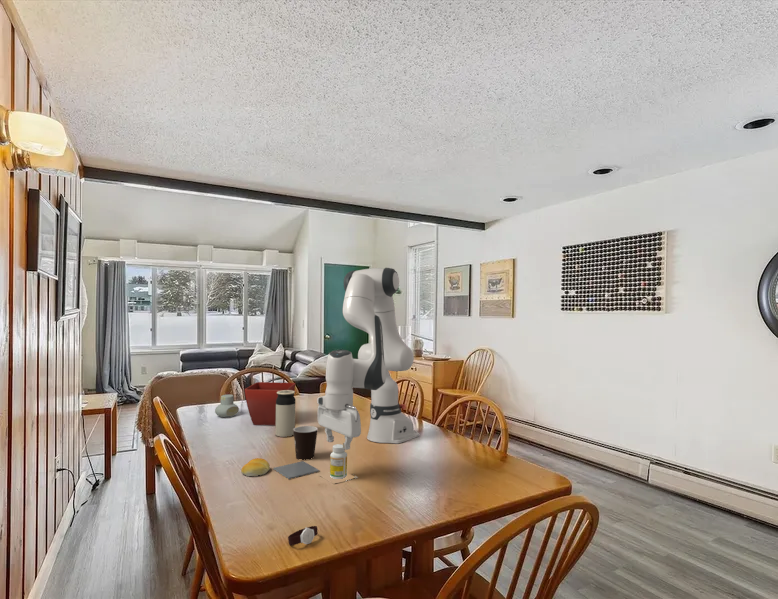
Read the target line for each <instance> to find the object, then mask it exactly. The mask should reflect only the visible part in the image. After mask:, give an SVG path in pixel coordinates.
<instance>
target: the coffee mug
mask: <svg viewBox="0 0 778 599" xmlns="http://www.w3.org/2000/svg"><path fill="white" fill-rule="evenodd" d="M293 432H294V435H293V441H294V450H295V458H296V460H299V459H302V460H301V461H307V460H306V459H309V460H312V459H314V458H315V454H316V445H317V438H318V437H317V436H318V427H316V426H313V425H311V426H310V425H302V426H295V428H294V429H293ZM313 457H314V458H313ZM311 458H312V459H311ZM304 459H305V460H304Z"/></svg>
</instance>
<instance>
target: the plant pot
mask: <svg viewBox="0 0 778 599" xmlns="http://www.w3.org/2000/svg"><path fill="white" fill-rule="evenodd" d="M282 390H292V391H295V390H296V382H274V381H272V382H270V381H269V382H268V381H257V382H255V383H253V384H251V385H250V386H248V387H246V388H244V395H245V401H246V406H247V410H248V414H249V416H250V420H251V423H252V425H253V426H276V399H277V397H278V394H277V392H278V391H282Z"/></svg>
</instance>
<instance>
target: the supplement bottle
mask: <svg viewBox="0 0 778 599" xmlns="http://www.w3.org/2000/svg"><path fill="white" fill-rule="evenodd" d="M329 456H330V457H329V459H330V460H329V473H330V477H331V478H333V479H343V478H345V477H346V476H347V472H348V453H347V452H346V449H343V443H342V444H341V443H340V444H339V443H337V444H333V445H332V452H331V453H330V455H329Z"/></svg>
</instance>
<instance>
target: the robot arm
mask: <svg viewBox="0 0 778 599" xmlns="http://www.w3.org/2000/svg"><path fill="white" fill-rule="evenodd" d="M399 286H400V277H399V274H398V272H397V271H396V270H395V268H392V267H391V268H390V267H385V268H383V267H372V268H371V267H370V268H365V269H364V268H363V269H359V270H357V269H355V270H354V269H353V270H351V271H349V272H347V273H346V274H345V276H344V278H343V289H344V291H345V293H344V298H343V303H342V316H343V318H344V320H345V321H346V322H347V323H348V324H349V325H351V327H354V328H356V329H359V330H361V331H363V332H365V333H367V334H368V336H369V338H370V342H368V343H364V344H362V345H361V346H360V348H359V350H358V353H357V358H354V357H353V354H352V352H351V351H349V350H347V349H337V350H336V349H335V350H332V351H331V352H329V353H328V354H327V355H328V356H327V360H326V365H325V381H326V389H325V393H324V394H325V395H322V396H318V397H317V398H316V402H317V405H318V406H317V423H318V425H319V426H321V427H323V428H324V432H325V435H326V442H328V443H333V442H334V441H335V437H334V436H333V431H334V432H335V433H338V434H341V435H343V436H344V439H345V440H344V442H343V443H342V445H343V449H345V451H347V450H350V449H351V443H352V441H353V439H354V438H358V437H360V436H361V434H362V425H361V416H360V413H359V410H358V409H357V407H356V406H355V405H354V390H353V389H354V388H355V389H366V390H370V392H371V393H370V397H371V403H370V405H369V406H370V407H369V414H370V421H369V426H368V433H367V436H366V438H367V440H368V441H369V442H370V441H371V442H374V443H380V444H401V443H404V442H407V441H410V440H412V439H415V438H418V437H420V433H419V432H418V431H417V430H414V422H413V421H412V419H411V418H409V417H408V416H407V415H406V414H404V413H403V412H402V410H405V409H406V408H407V406H406V404H405V403H404V404H403V403H399V386H398V383H397V382H396V381H395V380H394V379H393V378H392V376H391V375H390V373H389V372H390V371H391V372H405V371H406V372H407V371H408V370H409V369H411V367H412V366H413V364H414V359H415V356H414V352H413V350H412V348H410V347H409V346H408V345H407V344H406V343H405V341H404V340H403V339H402V337H401V336H400V332H399V331H398V330H399V329H398V327H397V320H396V311H395V310H396V308H395V301H394V294H396V293H397V291H399Z"/></svg>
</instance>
